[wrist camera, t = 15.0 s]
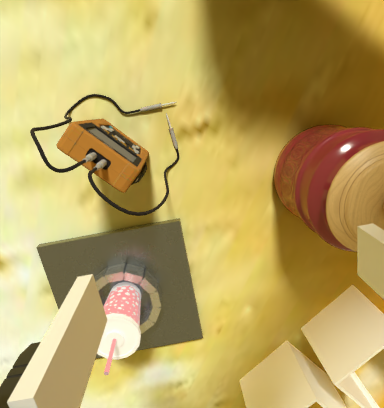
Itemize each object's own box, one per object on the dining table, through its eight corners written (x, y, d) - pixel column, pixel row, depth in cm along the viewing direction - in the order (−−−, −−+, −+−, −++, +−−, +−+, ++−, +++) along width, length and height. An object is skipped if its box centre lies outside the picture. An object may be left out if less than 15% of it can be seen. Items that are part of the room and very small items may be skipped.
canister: (322, 231, 45) (411, 303, 29) (252, 186, 43) (305, 235, 26) (381, 157, 43) (518, 188, 26) (311, 104, 40) (413, 99, 23)
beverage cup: (127, 320, 46) (110, 405, 33) (95, 297, 45) (63, 376, 32) (155, 293, 45) (148, 370, 32) (122, 269, 44) (101, 338, 31)
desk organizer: (352, 283, 49) (401, 331, 38) (390, 321, 51) (447, 376, 41) (238, 379, 53) (255, 445, 42) (280, 410, 56) (305, 479, 45)
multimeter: (205, 125, 40) (237, 138, 21) (160, 185, 42) (151, 247, 23) (109, 47, 37) (41, -22, 17) (64, 116, 38) (-40, 122, 19)
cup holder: (39, 244, 43) (28, 255, 40) (179, 218, 43) (180, 227, 40) (79, 356, 49) (72, 375, 46) (202, 333, 49) (204, 349, 46)
